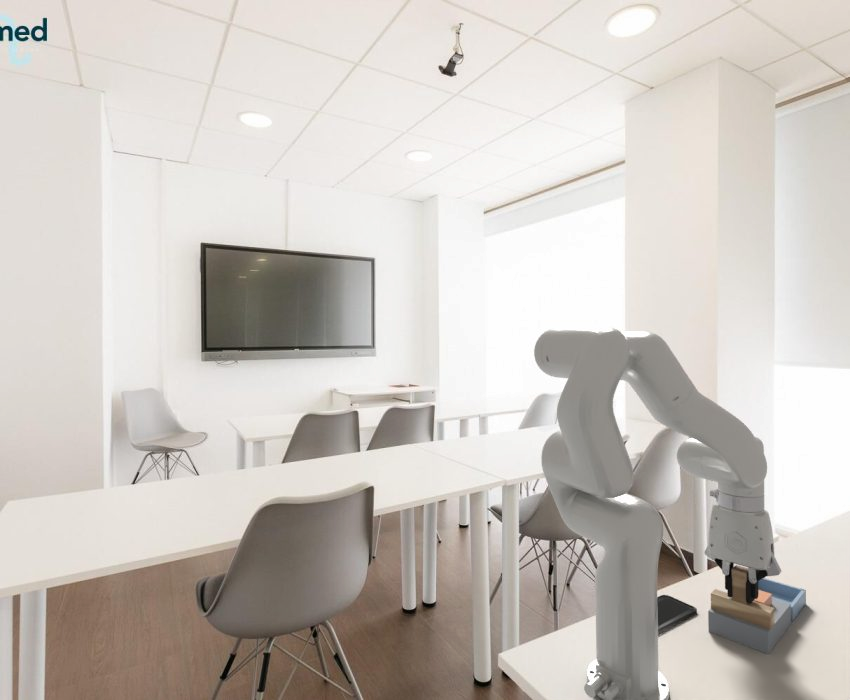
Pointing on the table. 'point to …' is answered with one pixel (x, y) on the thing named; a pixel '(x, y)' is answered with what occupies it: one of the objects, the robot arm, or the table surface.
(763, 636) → the gray rectangular block
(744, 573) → the scraper
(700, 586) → the table surface
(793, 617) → the tray
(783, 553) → the table surface
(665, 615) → the phone
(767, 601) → the tile
